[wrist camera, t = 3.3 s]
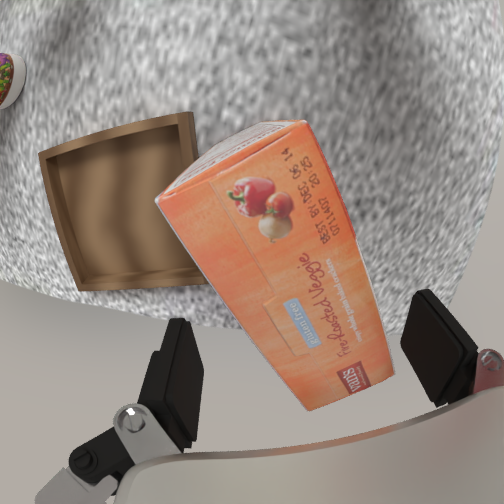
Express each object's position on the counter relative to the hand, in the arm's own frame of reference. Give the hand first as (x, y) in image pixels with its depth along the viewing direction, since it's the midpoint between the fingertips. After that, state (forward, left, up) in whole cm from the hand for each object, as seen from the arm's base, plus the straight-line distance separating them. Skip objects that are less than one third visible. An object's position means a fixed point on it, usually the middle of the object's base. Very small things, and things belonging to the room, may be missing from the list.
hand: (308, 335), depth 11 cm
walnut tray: (+16, 0, -21) cm, 26 cm away
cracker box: (0, 0, -21) cm, 21 cm away
